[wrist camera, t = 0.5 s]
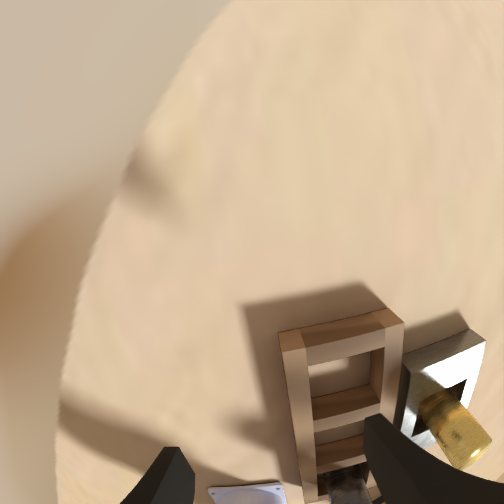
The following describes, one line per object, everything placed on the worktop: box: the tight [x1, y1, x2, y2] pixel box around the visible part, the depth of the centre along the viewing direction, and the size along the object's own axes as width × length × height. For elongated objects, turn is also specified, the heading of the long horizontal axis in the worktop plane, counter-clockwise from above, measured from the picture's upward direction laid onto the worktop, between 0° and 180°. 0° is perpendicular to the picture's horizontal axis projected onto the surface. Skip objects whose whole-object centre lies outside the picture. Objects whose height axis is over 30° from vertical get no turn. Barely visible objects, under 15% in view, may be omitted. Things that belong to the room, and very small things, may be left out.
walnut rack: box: [278, 308, 404, 504], centre depth 20 cm, size 21×8×2 cm, turn 10°
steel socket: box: [393, 329, 486, 449], centre depth 20 cm, size 12×8×2 cm, turn 10°
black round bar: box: [323, 464, 372, 504], centre depth 18 cm, size 4×4×9 cm
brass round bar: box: [418, 388, 492, 470], centre depth 16 cm, size 4×4×9 cm
